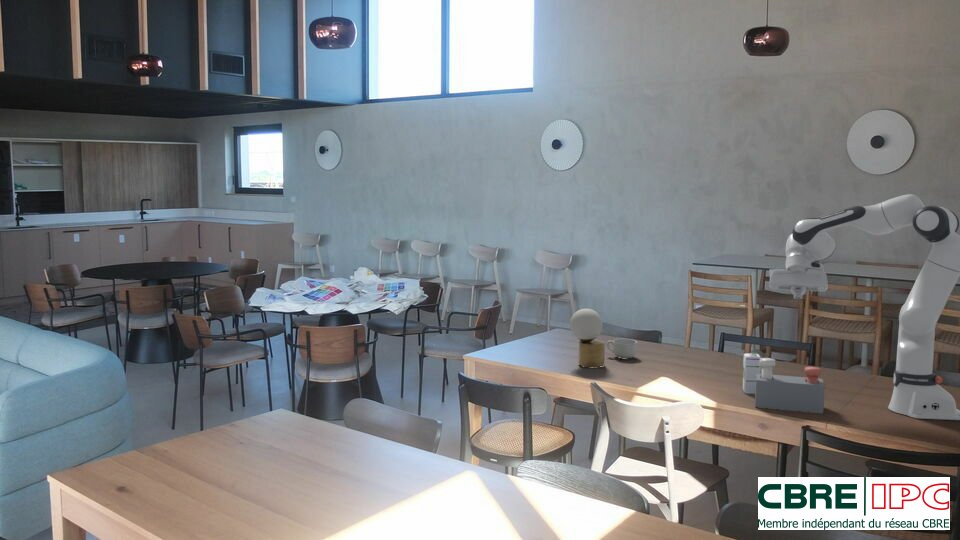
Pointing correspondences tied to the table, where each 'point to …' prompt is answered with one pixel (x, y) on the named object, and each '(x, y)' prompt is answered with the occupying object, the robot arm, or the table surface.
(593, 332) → the lamp
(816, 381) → the red plug
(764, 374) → the grey bulb-shaped piece
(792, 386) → the block
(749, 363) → the syrup box
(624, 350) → the teacup
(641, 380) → the table surface
